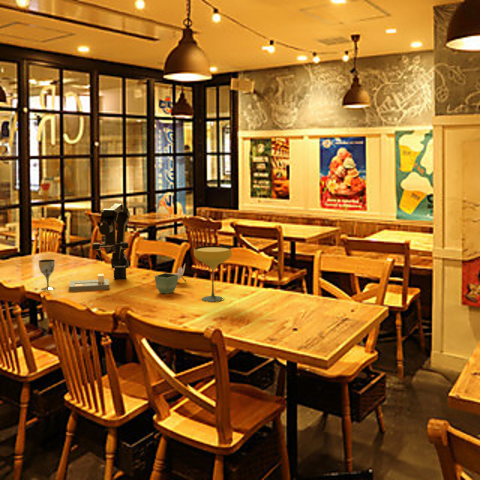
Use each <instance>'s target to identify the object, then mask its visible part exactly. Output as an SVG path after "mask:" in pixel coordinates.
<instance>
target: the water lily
mask: <svg viewBox="0 0 480 480" xmlns="http://www.w3.org/2000/svg"><path fill="white" fill-rule="evenodd" d="M185 268H186V264H184V265H183V266H180V267H178V269H177V272H174V273H173V274H175V275H178V281H179V280H180V279H182V280H183V281H184V282H185V283H186V282H187V280H186V279H185V278H184V277H183V275H184V273H185Z"/></svg>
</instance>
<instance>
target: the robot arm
mask: <svg viewBox="0 0 480 480" xmlns="http://www.w3.org/2000/svg"><path fill="white" fill-rule="evenodd" d="M130 218H131V212H130V210H129V208H127V207H126V206H125V205H124V204H123V203H114V204H113V205H112V206H111V207H110V208H103V209H102V211H101V215H100V220H99V223H102V224H100V225H99V226H98V227H99V228H98V232H99V234H100V235H102V236H101V243H100V242H93V243H92V244H91V246H92V247H91V248H92V251H93V250H94V252H97V254H98V256H99V258H100V261H101V263H103V255H102V250H101V249H104V248H115V250H114V252H112V254H111V258H110V264H111V269H114V270H113V278H114V280H116V281H119V280H127V269H129V268H130V265H129V261H128V258H127V254H126V252H125V251H127V249H130V248H129V247H130V245H129V242H127V241H125V239H126V226H127V225H128V224H129V220H130ZM116 224H117V227H116ZM102 243H103V244H102Z"/></svg>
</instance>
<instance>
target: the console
mask: <svg viewBox="0 0 480 480" xmlns="http://www.w3.org/2000/svg"><path fill="white" fill-rule="evenodd" d="M68 286H69V287H68V290H69V293H70V292H87V291H104V290H110V280H109V278H104V282H101V283H98V279H81V280H69V285H68Z"/></svg>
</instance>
